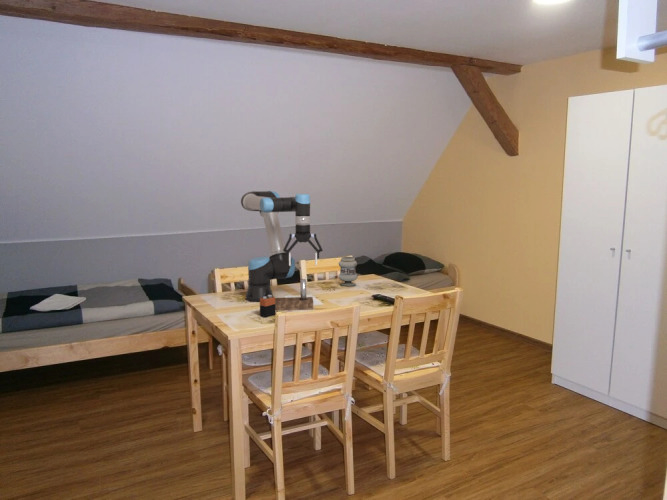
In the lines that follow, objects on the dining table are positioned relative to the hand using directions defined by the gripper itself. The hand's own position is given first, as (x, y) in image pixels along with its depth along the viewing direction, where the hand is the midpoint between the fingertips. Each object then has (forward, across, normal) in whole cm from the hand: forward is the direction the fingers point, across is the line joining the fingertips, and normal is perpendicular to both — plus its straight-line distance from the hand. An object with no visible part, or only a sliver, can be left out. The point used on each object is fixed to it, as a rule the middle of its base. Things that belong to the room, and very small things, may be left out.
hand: (303, 265), depth 257 cm
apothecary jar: (+23, +30, +53) cm, 65 cm away
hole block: (+23, -7, 0) cm, 24 cm away
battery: (+23, -18, -14) cm, 32 cm away
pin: (+22, 0, 0) cm, 22 cm away
